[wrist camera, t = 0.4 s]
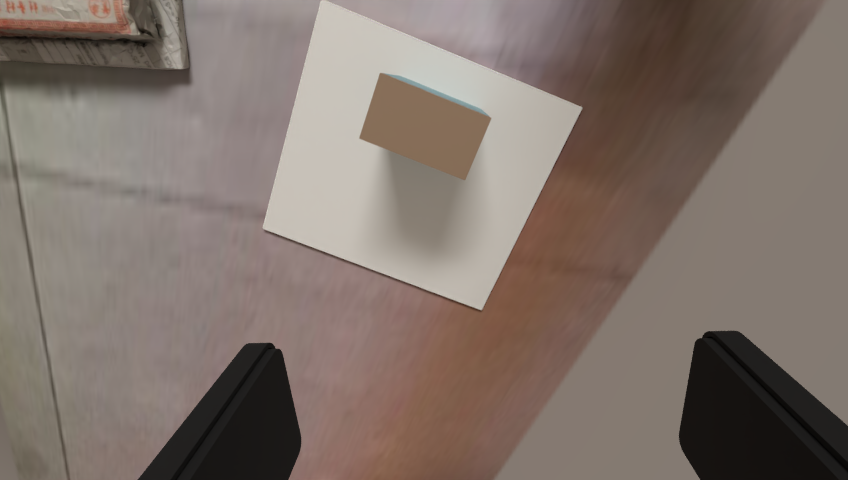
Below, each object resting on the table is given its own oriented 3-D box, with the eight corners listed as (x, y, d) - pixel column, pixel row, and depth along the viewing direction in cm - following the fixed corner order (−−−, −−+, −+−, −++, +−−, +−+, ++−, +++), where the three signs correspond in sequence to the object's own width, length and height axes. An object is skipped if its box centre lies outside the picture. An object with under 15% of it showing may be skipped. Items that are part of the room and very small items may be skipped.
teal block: (400, 75, 34) (380, 72, 24) (480, 108, 34) (491, 118, 25) (383, 123, 35) (358, 138, 26) (461, 155, 36) (464, 180, 26)
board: (322, -1, 33) (321, -2, 32) (581, 107, 34) (582, 107, 34) (264, 227, 39) (262, 228, 39) (481, 308, 41) (481, 310, 41)
